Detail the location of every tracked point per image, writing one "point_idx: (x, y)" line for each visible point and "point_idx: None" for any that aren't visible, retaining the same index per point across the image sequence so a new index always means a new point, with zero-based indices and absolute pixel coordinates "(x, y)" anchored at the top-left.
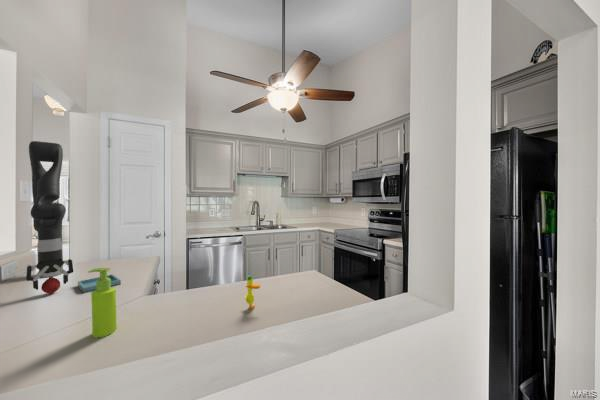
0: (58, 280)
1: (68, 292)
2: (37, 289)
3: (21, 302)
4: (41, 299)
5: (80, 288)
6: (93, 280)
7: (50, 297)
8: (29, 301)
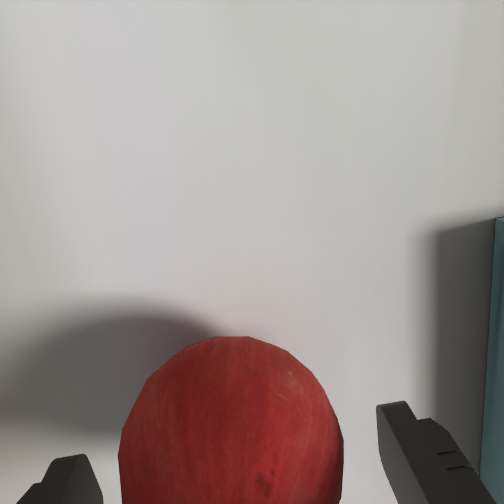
0: (335, 502)
1: None
2: (95, 502)
3: (15, 451)
4: None
5: (491, 388)
6: None
7: None
8: None
